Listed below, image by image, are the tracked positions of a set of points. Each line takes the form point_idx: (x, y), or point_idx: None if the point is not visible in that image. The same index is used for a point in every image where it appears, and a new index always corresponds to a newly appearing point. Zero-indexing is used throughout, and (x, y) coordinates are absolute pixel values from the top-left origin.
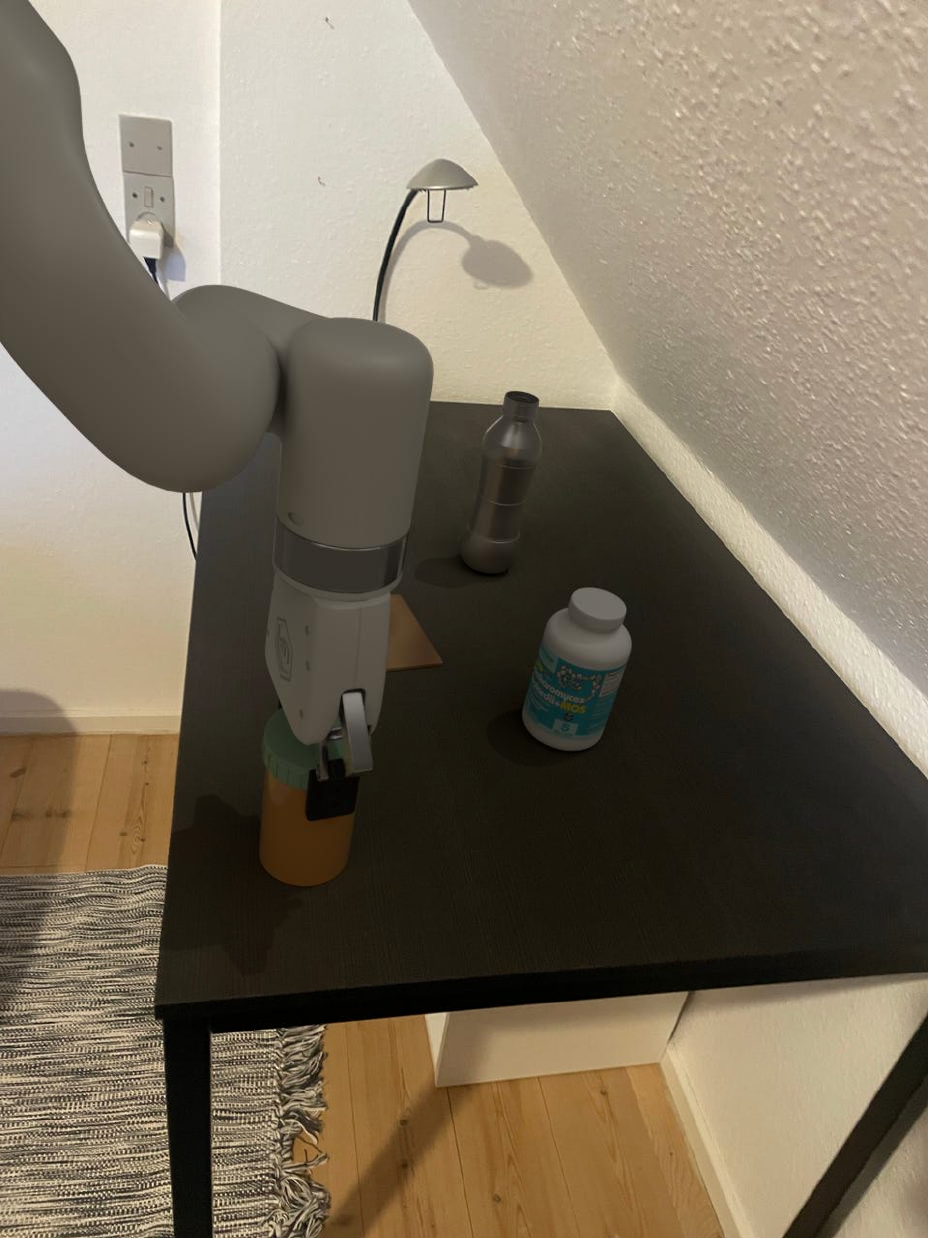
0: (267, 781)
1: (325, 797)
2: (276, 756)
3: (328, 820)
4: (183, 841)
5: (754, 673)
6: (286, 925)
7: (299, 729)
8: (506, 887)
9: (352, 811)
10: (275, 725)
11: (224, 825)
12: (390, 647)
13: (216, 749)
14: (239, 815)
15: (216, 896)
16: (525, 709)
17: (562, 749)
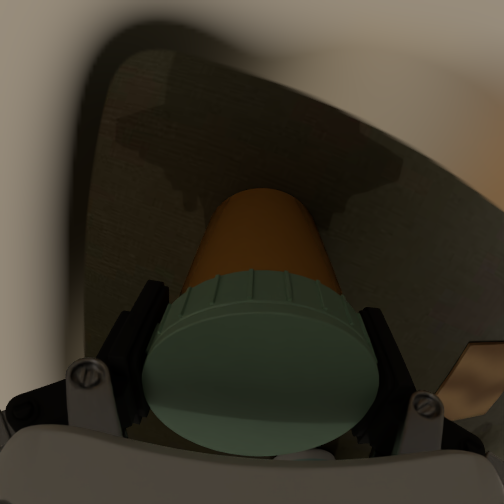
0: (267, 253)
1: (107, 338)
2: (214, 314)
3: None
4: (340, 112)
5: None
6: (163, 183)
7: (20, 462)
8: None
9: None
10: (330, 349)
11: (344, 169)
12: (453, 400)
13: (456, 213)
14: (352, 193)
15: (234, 119)
16: (320, 460)
17: (277, 456)
